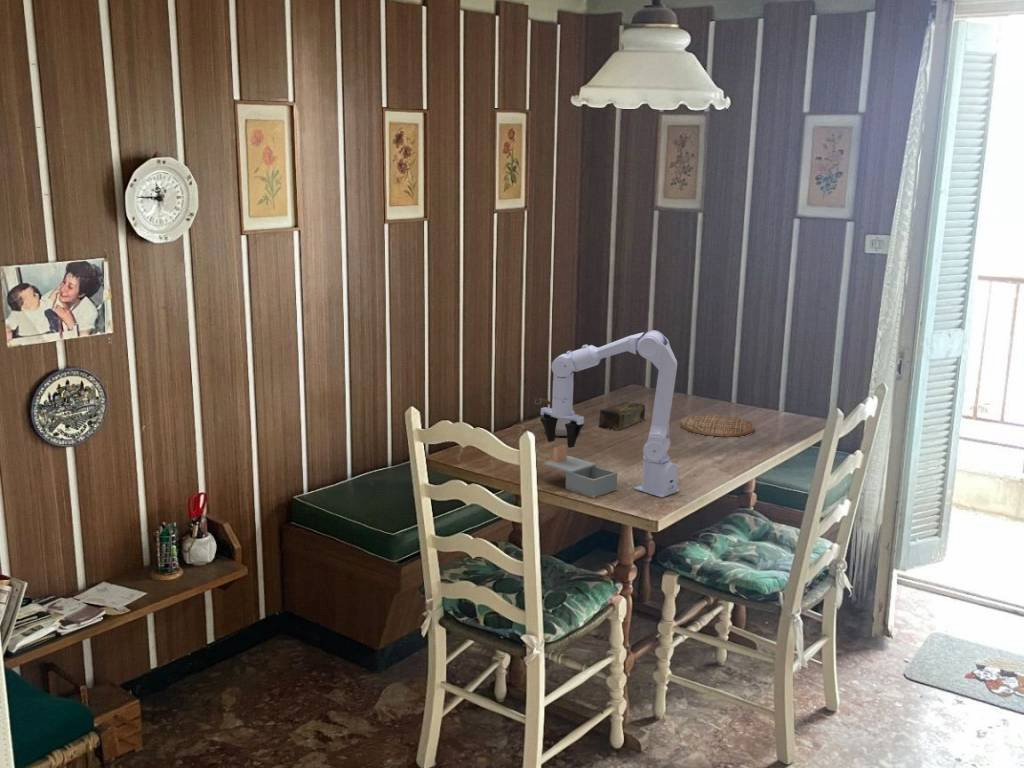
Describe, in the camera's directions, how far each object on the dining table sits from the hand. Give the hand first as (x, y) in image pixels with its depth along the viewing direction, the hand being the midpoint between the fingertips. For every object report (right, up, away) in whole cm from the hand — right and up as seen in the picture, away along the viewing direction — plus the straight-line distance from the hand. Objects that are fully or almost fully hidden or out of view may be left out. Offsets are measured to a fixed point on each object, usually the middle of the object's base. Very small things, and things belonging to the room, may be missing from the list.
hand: (561, 444), depth 285 cm
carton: (+8, -12, -6) cm, 16 cm away
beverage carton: (+24, +3, +64) cm, 69 cm away
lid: (+2, -6, -2) cm, 7 cm away
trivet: (+56, +1, +62) cm, 84 cm away
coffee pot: (0, -1, +46) cm, 46 cm away
